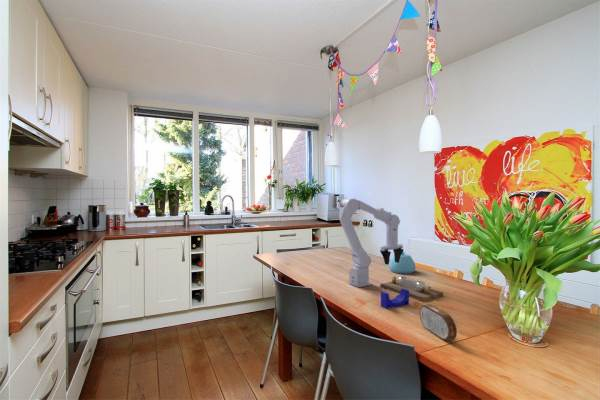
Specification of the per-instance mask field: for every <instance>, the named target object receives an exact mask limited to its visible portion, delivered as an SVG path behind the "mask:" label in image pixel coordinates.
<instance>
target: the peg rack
mask: <svg viewBox="0 0 600 400" xmlns="http://www.w3.org/2000/svg"><path fill="white" fill-rule="evenodd" d="M379 286H380V288H382V289H385V290H388V291H390V292H394V293H397V294H398V295H400V293H401V289H403V288H404V289H407V290H409V298H410V299H411V298H412V299H415V300H417V301H420V302H422V303H423V302H426V301H430V300H433V299H436V298H440V297H443V296H444V292H443V291H439V290H436V289H433V288H431V286H429V285H427V286H426V285H425V292H423V293H421V292H417V291H414V290H411V289H408V288H405V287H401V286H399V279H397V276H391V281H388V282H382V283H380V285H379Z"/></svg>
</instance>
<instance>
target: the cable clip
mask: <svg viewBox="0 0 600 400" xmlns="http://www.w3.org/2000/svg"><path fill="white" fill-rule="evenodd" d="M408 305H410V297H409V290H407V289H404V288H403V289H401V293H400V294H396V296H395V297H394V298H392V299H390V295H389V293H388V292H386V291H381V292H380V307H381V308H383V309H392V308H397V307H402V306H403V307H404V306H408Z"/></svg>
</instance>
